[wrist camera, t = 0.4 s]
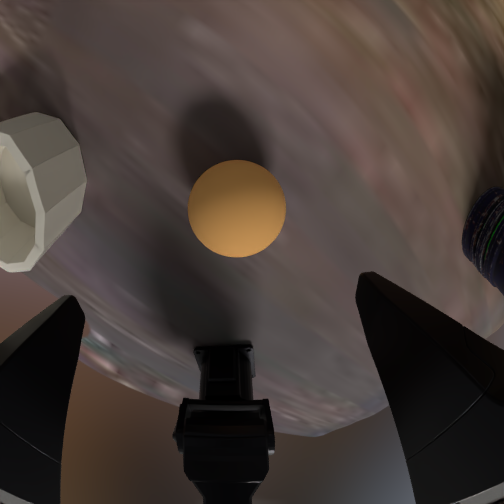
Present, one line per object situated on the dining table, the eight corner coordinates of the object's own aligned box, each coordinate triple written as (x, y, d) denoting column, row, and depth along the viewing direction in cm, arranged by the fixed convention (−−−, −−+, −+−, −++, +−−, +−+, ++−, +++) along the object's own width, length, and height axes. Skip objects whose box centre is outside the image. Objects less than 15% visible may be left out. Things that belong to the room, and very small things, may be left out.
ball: (278, 225, 21) (293, 273, 16) (200, 231, 21) (190, 280, 16) (277, 148, 18) (294, 172, 13) (189, 155, 18) (170, 182, 12)
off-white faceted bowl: (99, 225, 20) (66, 268, 15) (19, 238, 20) (-14, 273, 15) (72, 95, 14) (21, 104, 9) (-10, 137, 14) (-53, 157, 9)
